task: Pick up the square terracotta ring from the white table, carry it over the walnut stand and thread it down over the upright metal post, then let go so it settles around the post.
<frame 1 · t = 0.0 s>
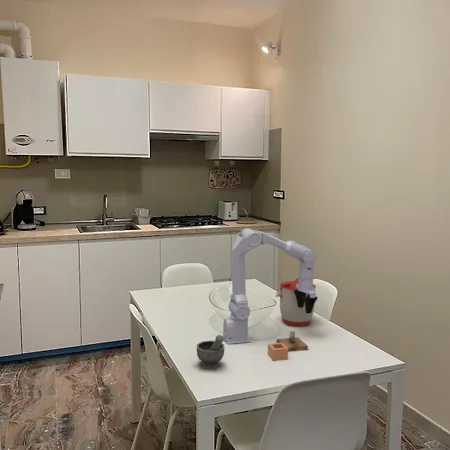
hand: (304, 310, 187), 10 cm above the table, tool pointing down, fingers open, 7 cm apart
post stand: (291, 346, 175), on the table
citrus juicer: (294, 322, 202), on the table
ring: (277, 356, 165), on the table
mortar and pestle: (211, 366, 157), on the table
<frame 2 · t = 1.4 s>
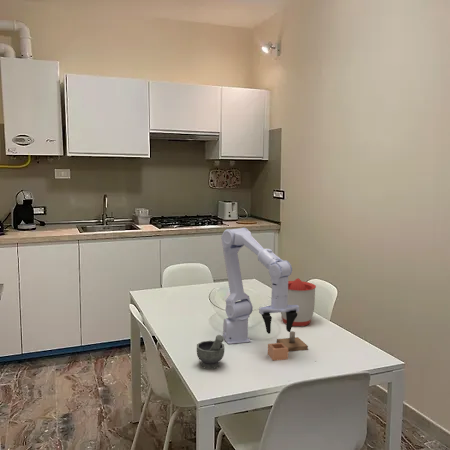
hand: (278, 331, 164), 9 cm above the table, tool pointing down, fingers open, 7 cm apart
nothing on the table moved.
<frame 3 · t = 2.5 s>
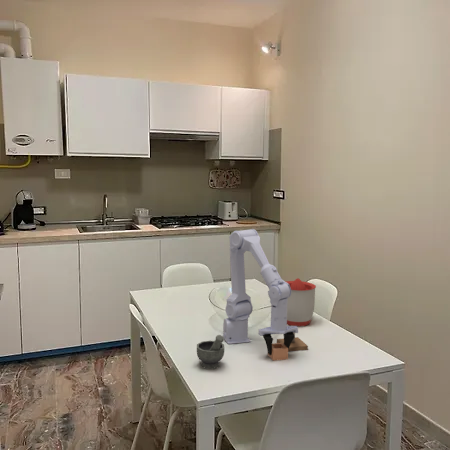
hand: (277, 353, 165), 1 cm above the table, tool pointing down, fingers closed on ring, 6 cm apart
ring: (277, 356, 165), on the table, touching gripper
everything else where it was.
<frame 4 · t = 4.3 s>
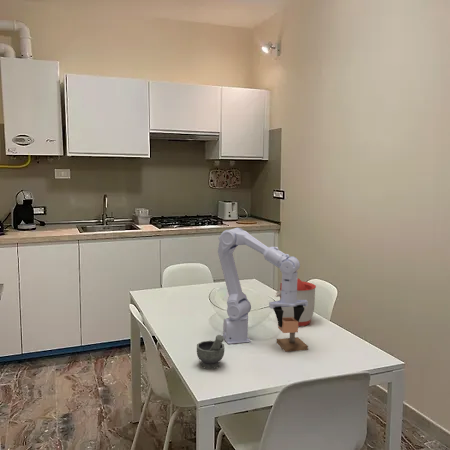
hand: (287, 325, 171), 9 cm above the table, tool pointing down, fingers closed on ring, 6 cm apart
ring: (287, 330, 171), point 8 cm above the table, touching gripper
everything else where it was.
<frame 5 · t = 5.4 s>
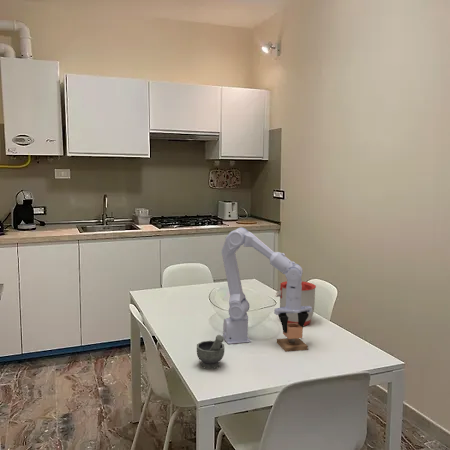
hand: (292, 331, 175), 6 cm above the table, tool pointing down, fingers closed on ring, 6 cm apart
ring: (292, 335, 175), point 4 cm above the table, touching gripper
everything else where it was.
when the fingers open (5 cm above the table, at t = 6.1 s): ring drops 2 cm, resting on post stand.
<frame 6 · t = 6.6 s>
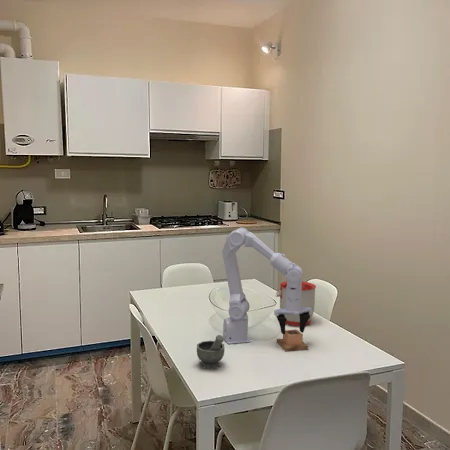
hand: (292, 332, 175), 5 cm above the table, tool pointing down, fingers open, 7 cm apart
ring: (292, 342, 175), point 1 cm above the table, touching post stand
everything else where it was.
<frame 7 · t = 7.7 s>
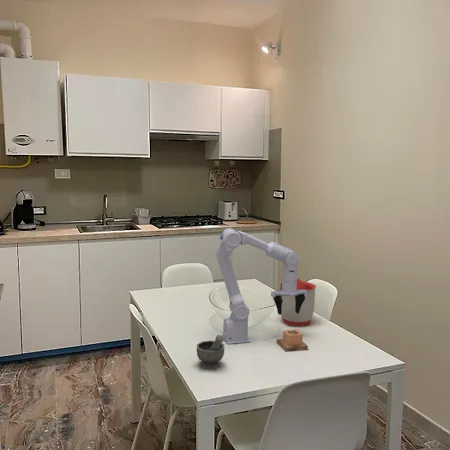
hand: (288, 313, 183), 10 cm above the table, tool pointing down, fingers open, 7 cm apart
nothing on the table moved.
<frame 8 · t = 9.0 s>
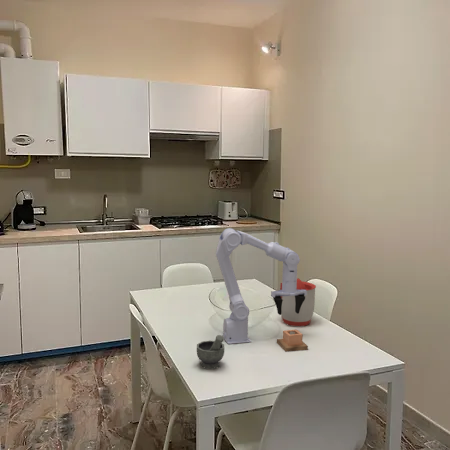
hand: (288, 313, 183), 10 cm above the table, tool pointing down, fingers open, 7 cm apart
nothing on the table moved.
at the end: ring 0.2 cm off-centre on the post stand, point 1.5 cm above the post stand's base; the gripper is holding nothing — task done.
